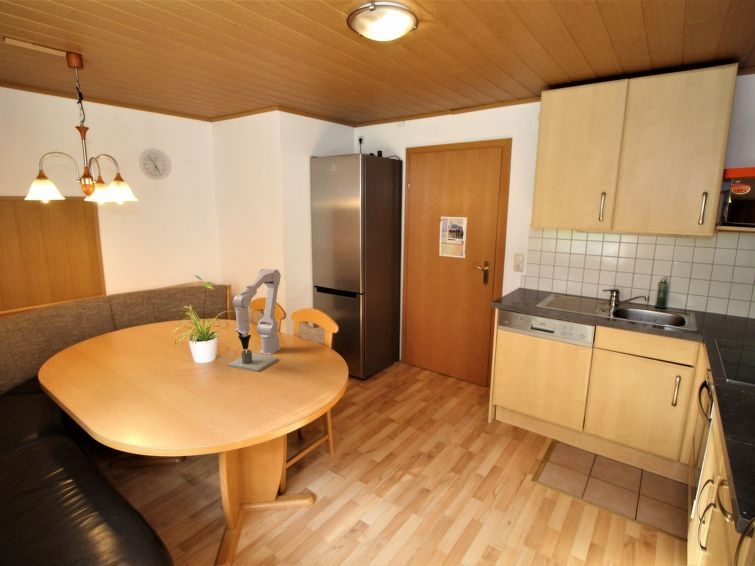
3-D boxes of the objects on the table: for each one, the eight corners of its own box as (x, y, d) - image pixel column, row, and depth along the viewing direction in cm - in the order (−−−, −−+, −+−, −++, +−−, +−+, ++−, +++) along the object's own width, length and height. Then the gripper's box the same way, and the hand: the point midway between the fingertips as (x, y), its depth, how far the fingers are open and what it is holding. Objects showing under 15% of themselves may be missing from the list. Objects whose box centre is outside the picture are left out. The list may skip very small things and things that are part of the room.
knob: (242, 360, 207) (241, 349, 206) (252, 359, 209) (251, 348, 207) (242, 364, 203) (241, 352, 202) (252, 363, 204) (251, 351, 203)
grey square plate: (249, 354, 218) (249, 347, 218) (278, 359, 211) (278, 351, 211) (228, 366, 204) (227, 358, 203) (257, 371, 197) (257, 363, 196)
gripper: (233, 316, 206) (235, 342, 209) (234, 324, 193) (237, 352, 196) (248, 315, 209) (250, 340, 212) (250, 322, 196) (252, 350, 199)
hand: (244, 346), depth 204 cm, fingers open, 7 cm apart
